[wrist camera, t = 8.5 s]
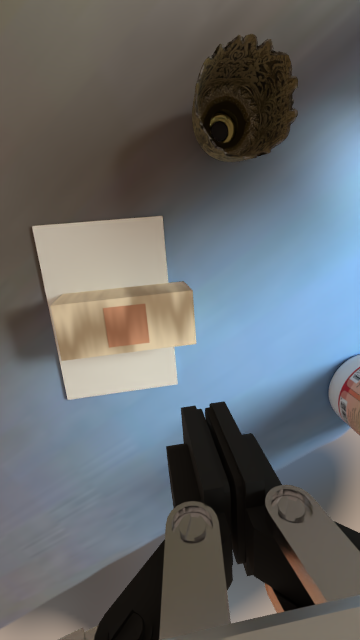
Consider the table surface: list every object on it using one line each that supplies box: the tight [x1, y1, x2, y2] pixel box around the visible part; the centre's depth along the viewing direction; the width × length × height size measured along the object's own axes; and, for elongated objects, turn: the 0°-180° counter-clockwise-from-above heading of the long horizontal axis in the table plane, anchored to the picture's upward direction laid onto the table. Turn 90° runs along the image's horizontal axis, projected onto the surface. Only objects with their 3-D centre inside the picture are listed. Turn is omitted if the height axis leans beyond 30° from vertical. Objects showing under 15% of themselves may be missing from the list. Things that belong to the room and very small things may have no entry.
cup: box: [192, 34, 298, 162], centre depth 26 cm, size 8×7×8 cm
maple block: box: [50, 281, 196, 361], centre depth 30 cm, size 5×5×12 cm
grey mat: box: [32, 216, 178, 400], centre depth 32 cm, size 18×12×1 cm, turn 5°
